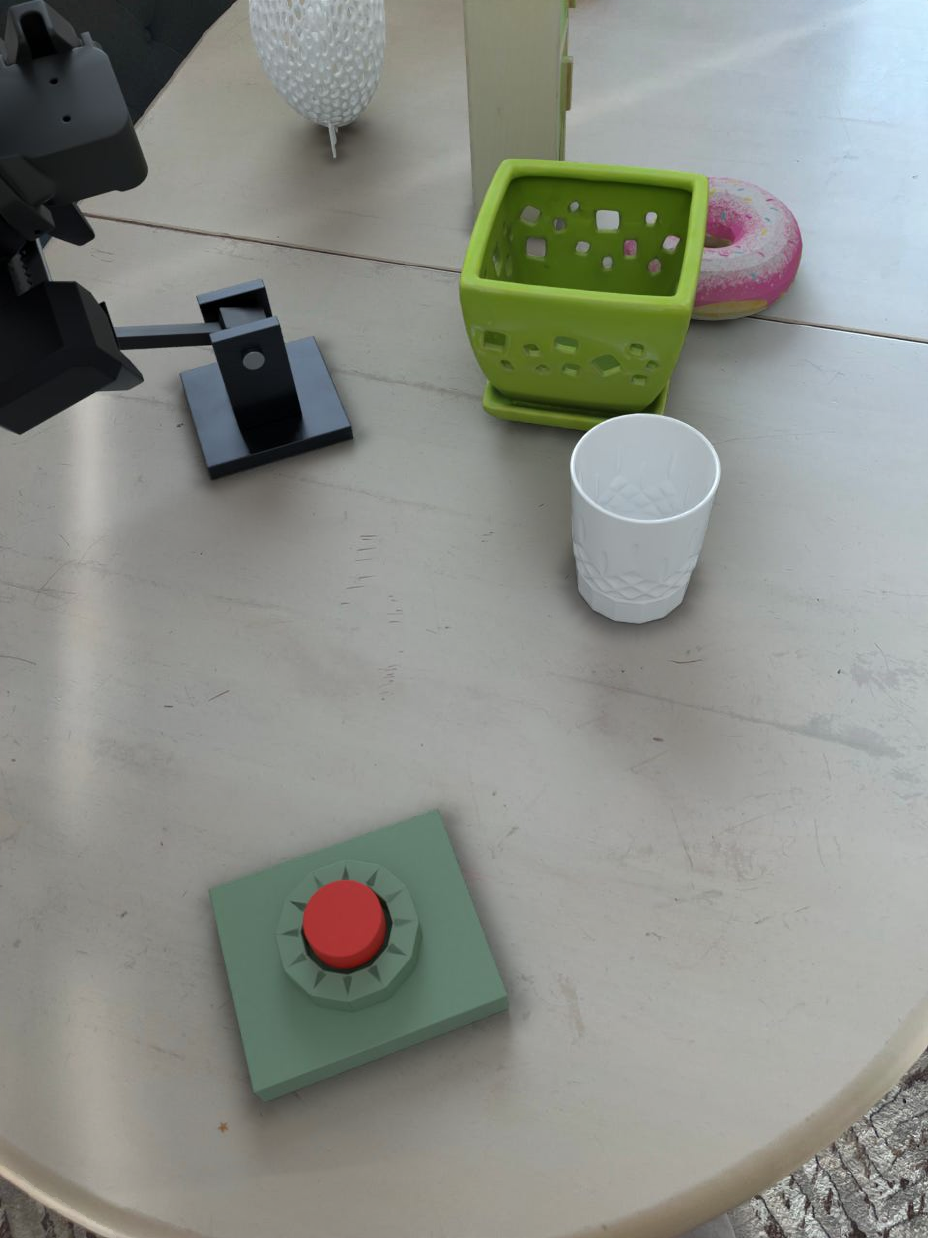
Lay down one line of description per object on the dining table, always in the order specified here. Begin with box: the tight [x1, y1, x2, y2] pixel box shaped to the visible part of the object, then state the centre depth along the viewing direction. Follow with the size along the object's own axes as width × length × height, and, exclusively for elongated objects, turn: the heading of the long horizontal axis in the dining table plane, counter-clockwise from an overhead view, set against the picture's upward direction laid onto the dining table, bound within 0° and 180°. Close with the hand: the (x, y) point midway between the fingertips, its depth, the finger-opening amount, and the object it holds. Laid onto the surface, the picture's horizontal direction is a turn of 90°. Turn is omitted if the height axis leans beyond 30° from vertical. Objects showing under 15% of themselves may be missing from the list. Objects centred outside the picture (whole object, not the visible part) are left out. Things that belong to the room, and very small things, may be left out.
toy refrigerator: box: [462, 0, 578, 230], centre depth 78 cm, size 8×7×21 cm
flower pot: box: [458, 159, 709, 432], centre depth 69 cm, size 14×14×13 cm
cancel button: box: [303, 880, 386, 969], centre depth 48 cm, size 4×4×2 cm
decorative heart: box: [248, 0, 387, 159], centre depth 88 cm, size 18×11×17 cm, turn 179°
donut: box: [624, 176, 803, 321], centre depth 78 cm, size 14×13×5 cm
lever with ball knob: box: [113, 306, 266, 351], centre depth 67 cm, size 15×3×3 cm, turn 110°
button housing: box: [208, 808, 509, 1103], centre depth 51 cm, size 12×10×4 cm
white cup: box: [569, 414, 722, 625], centre depth 60 cm, size 8×8×10 cm
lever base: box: [178, 278, 354, 481], centre depth 71 cm, size 10×10×9 cm
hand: (111, 309), depth 55 cm, fingers open, 9 cm apart
